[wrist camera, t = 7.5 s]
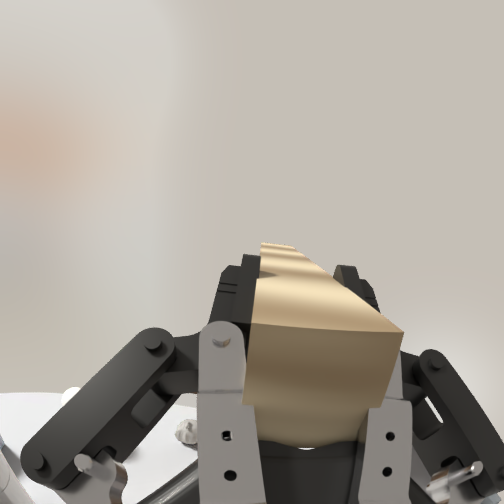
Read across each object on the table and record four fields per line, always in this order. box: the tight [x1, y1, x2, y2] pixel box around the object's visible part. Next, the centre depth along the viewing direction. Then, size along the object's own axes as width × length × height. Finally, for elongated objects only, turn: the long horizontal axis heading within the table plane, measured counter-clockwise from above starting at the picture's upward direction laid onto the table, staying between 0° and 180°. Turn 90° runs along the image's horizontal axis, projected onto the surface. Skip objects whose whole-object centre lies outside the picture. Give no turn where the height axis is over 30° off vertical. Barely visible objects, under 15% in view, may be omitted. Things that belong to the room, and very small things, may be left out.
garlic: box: [175, 419, 197, 445], centre depth 44 cm, size 6×5×5 cm
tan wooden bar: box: [242, 243, 404, 448], centre depth 18 cm, size 26×3×3 cm, turn 178°
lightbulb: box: [62, 387, 81, 406], centre depth 37 cm, size 6×6×11 cm
